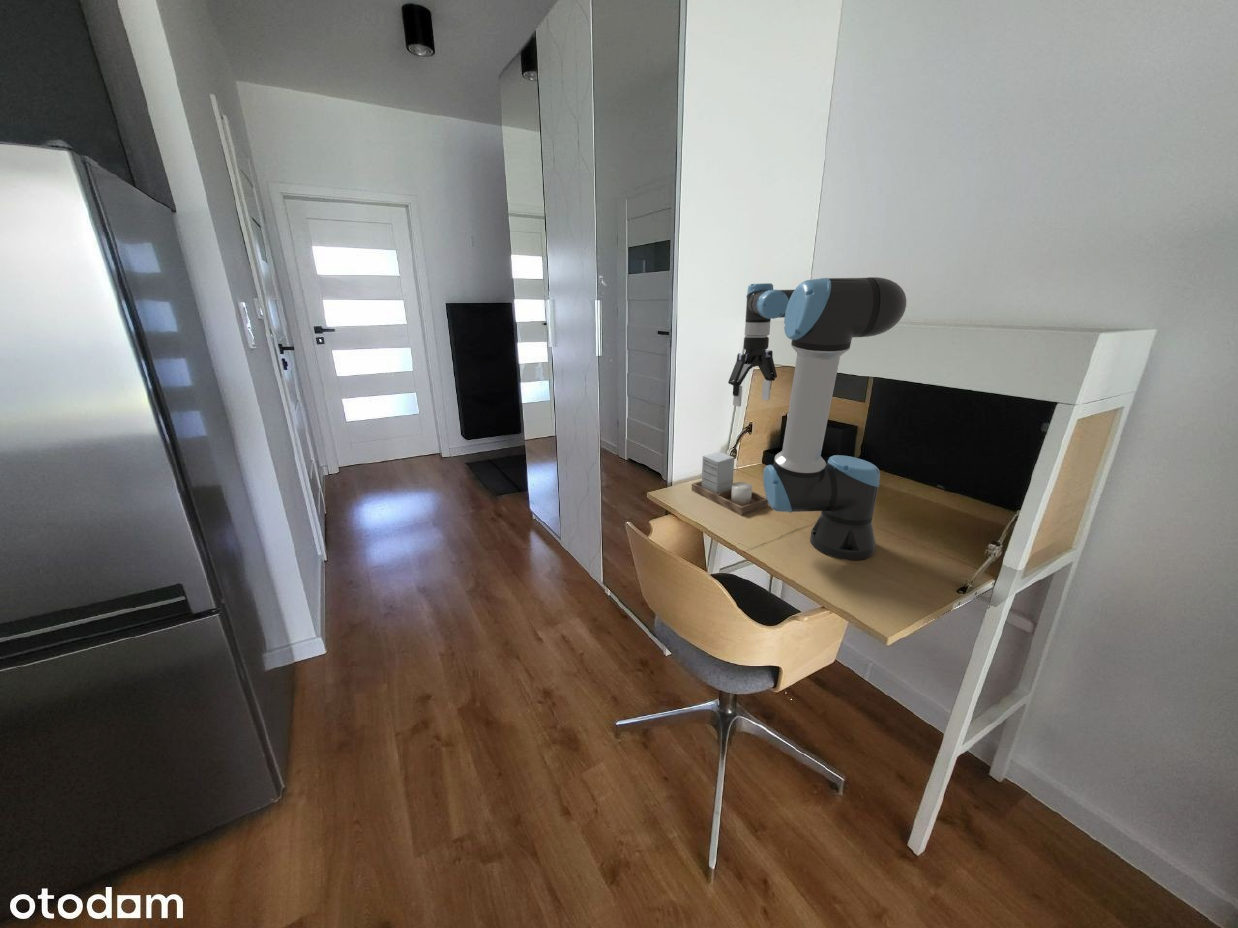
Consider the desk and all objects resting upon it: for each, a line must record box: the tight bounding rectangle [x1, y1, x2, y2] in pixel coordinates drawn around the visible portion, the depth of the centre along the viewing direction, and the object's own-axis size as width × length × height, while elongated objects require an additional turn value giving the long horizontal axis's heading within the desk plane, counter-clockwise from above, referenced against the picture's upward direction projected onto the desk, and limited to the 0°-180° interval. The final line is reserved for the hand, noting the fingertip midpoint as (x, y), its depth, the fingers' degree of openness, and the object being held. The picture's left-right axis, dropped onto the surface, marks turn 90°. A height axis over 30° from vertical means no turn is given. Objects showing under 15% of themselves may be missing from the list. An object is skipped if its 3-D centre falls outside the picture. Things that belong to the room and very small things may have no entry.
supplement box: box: [701, 451, 735, 494], centre depth 148 cm, size 7×7×13 cm
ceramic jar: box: [731, 481, 753, 506], centre depth 141 cm, size 6×6×6 cm
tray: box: [691, 480, 769, 516], centre depth 146 cm, size 22×12×3 cm, turn 32°
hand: (751, 402), depth 151 cm, fingers open, 13 cm apart
